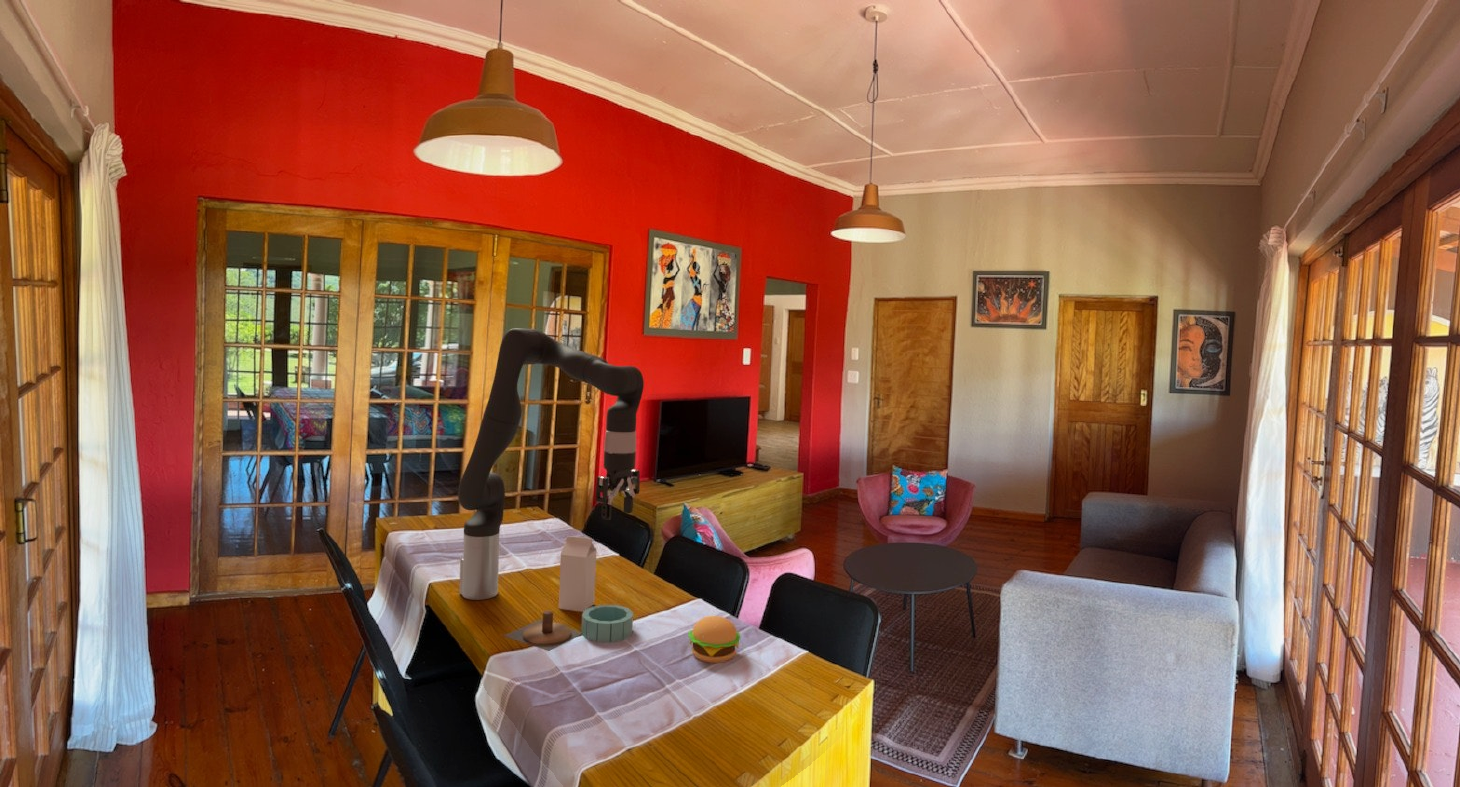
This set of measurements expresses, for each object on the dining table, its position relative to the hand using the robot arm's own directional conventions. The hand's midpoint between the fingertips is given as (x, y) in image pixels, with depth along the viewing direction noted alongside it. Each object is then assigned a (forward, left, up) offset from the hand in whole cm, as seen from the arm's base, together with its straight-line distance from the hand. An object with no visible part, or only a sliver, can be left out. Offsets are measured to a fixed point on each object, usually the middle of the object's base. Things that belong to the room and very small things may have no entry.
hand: (617, 516), depth 175 cm
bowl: (-1, -1, -29) cm, 29 cm away
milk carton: (-18, +8, -29) cm, 35 cm away
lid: (-11, -11, -28) cm, 32 cm away
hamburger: (+26, +4, -29) cm, 40 cm away
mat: (-12, -11, -29) cm, 33 cm away
